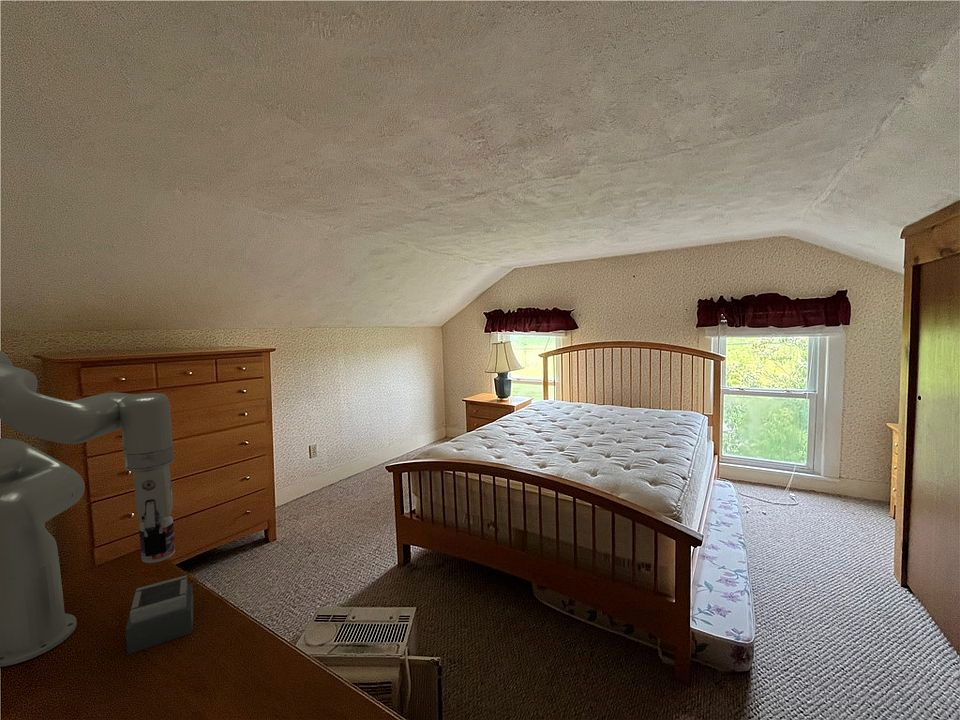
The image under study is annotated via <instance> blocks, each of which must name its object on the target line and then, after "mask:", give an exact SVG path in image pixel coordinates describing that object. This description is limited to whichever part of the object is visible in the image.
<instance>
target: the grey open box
mask: <svg viewBox="0 0 960 720" xmlns="http://www.w3.org/2000/svg"><path fill="white" fill-rule="evenodd" d="M188 581H189V580H188V574H186V575H182V576H178V577H174V578H171V579H167V580H163V581H159V582H156V583H152V584H148V585H144V586H141V587H138V588H137V587H136V588H135V593H134V596H133V599H132V602H131V606H130V611H129V615H128V618H127V622H126V626H125V640H126V651H127V655H131V654H133V653H137V652H140V651H143V650H146V649H149V648H151V647H155V646H158V645H161V644H163V643H164V644H165V643H167V642H169V641H174V640H176V639H179V638H182V637H185V636H189V635H191V634H193V629H194V628H193V627H194V609H195V608H194V606H195V604H194V593H193V592H194V589H193V582H190V583H189V582H188Z"/></svg>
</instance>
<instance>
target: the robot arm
mask: <svg viewBox="0 0 960 720" xmlns="http://www.w3.org/2000/svg"><path fill="white" fill-rule="evenodd" d="M9 357H10V356H8V355H7V354H6V353H4V352H3V351H2V350H0V421H1V422H3V423H4V424H5V425H7V426H8V427H9V428H10V429H12V430H13V431H16V432H17V433H19V434H22V435H24V436H29V437H31V438H36V439H39V440H43V441H47V442H48V441H49V442H53V443H57V444H67V445H75V444H76V445H78V444H82V443H87V442H90V441H93V440H95V439H96V438H99V437H102V436H104V435H108V434H111V433H113V432H116V431H119V430H121V435H122V437H121V438H122V447H123V448H122V449H123V458H124V467H125V471H127V472H133V484H134V495H135V506H136V514H137V519H138V522H140V523H143V521H144V546H145V555H146V556H151V555H155V554H159V553H164V552H166V549H167V548H166V537H165V531H163V517H169V516H171V514H172V510H173V505H174V496H173V486H172V479H171V478H172V477H171V470H170V465H172V464H174V462H175V452H174V441H173V430H172V429H173V428H172V418H171V403H170V399H169V397H168V396H167V395H166V394H164V393H159V392H146V393H145V392H144V393H136V394H134V393H125V392H114V391H113V392H109V391H108V392H103V393H99V394H96V395H95V394H94V395H90V396H86V397H83V398H82V397H81V398H78V399H74V400H72V401H71V400H65V399H61V398H57V397H53V396H48V395H45V394H41V393H39V392H37V389H38V379H37V377H36V375H35V373H33V372H32V371H30V370H28V369H25V368H22V367H19V366H18V367H17V366H14V365H13V363H12V360H11V359H10V358H9ZM85 487H86V484H85V481H84V479H83V477H82V476H81V475H80V473H78V472H77V471H76V470H75V469H74V468H72V467H71V466H69V465H67V464H65V463H63V462H61V461H60V460H58V459H56V458H54V457H53V456H50V455H49V454H47V453H45V452H43V451H42V450H41V449H38V448H36V447H35V446H32V445H31V444H28V443H27V442H24V441H21V440H18V439H13V438H0V668H2V667H9V666H13V665H18V664H21V663H22V662H26V661H29V660H31V659H34V658H36V657H38V656H41V655H43V654H45V653H47V652H49V651H51V650H52V649H54V648H56V647H57V646H58V645H60V644H62V643H64V641H65V640H67V639H68V638H69V637H70V636H71V635H72V634H73V633H74V632H75V630H76V629H77V624H78V622H77V617H75V615H73V614H71V613H65V603H64V595H63V585H62V574H61V566H60V557H59V551H58V550H59V549H58V545H57V541H56V539H55V537H54V536H53V535H52V533H50V532H49V531H48V530H47V528H46V525H45V523H46V522H47V521H50V520H51V519H52V518H54V517H56V516H58V515H60V514H62V513H63V512H65V511H67V510H68V509H70V508H72V507H73V506H75V504H77V503H78V502H79V501H80V500H81V499H82V498H83V496H84V494H85V490H86V488H85ZM156 514H159V517H156V518H155V515H156ZM158 520H159V525H158V524H156V522H155V521H158Z"/></svg>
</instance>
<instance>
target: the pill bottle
mask: <svg viewBox="0 0 960 720" xmlns="http://www.w3.org/2000/svg"><path fill="white" fill-rule="evenodd" d="M156 517H159V514H156V515H155V518H156ZM155 522H156V524H158V525H159V520H158V521H155ZM138 526H139V527H138V533H139V534H138V535H139V546H140V547H139V548H140V554H141V561H142V562H143V563H145V564H155V563H158V562H162V561H165V560H168V559H169V558H171V557H172V556H173V555H174V554H175V552H176V541H175V530H174V529H175V528H174V518H173V516H171V515H170V516H169V517H163V531H165V537H166V548H167V549H166V552H164V553H159V554H155V555H151V556H146V555H145V546H144V521H143V523H142V522H140V523H139V525H138Z"/></svg>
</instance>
